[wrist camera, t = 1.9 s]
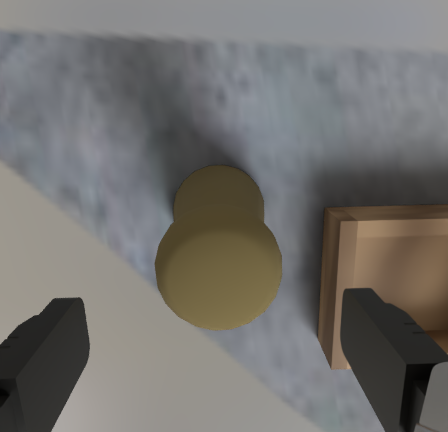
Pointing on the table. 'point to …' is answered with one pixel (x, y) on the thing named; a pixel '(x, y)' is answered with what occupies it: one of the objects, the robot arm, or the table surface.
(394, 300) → the wooden tray
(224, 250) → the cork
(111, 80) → the table surface
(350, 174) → the table surface
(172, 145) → the table surface
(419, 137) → the table surface
